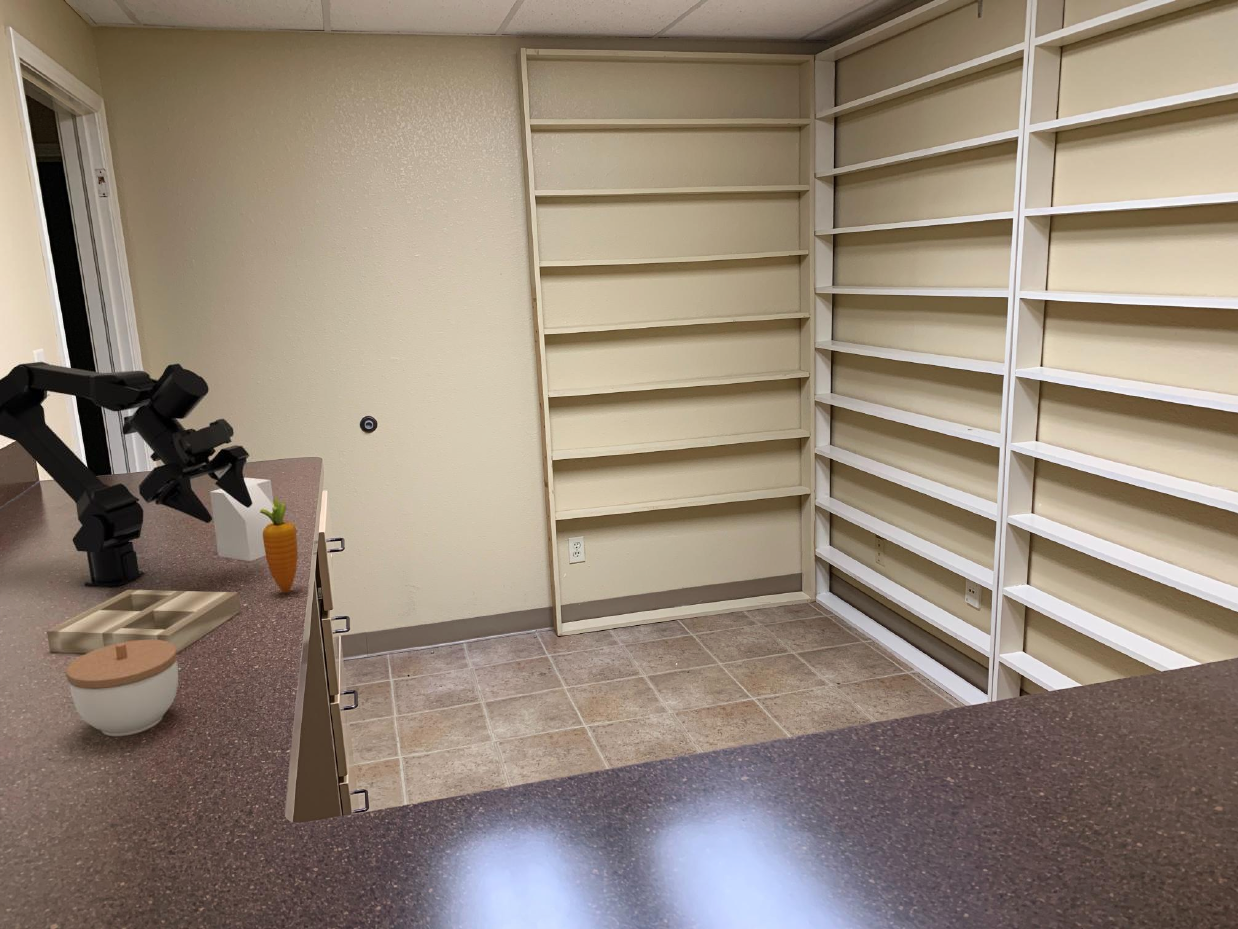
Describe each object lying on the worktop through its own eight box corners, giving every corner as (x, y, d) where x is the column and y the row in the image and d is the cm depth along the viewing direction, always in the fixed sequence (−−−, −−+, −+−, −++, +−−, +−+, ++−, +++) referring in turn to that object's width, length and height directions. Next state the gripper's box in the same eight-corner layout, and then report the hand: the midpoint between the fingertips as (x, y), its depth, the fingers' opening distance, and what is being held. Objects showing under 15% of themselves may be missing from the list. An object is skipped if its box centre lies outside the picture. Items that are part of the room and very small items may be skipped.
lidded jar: (83, 713, 102) (70, 636, 101) (186, 693, 107) (175, 619, 105) (70, 757, 93) (56, 673, 91) (184, 733, 97) (172, 652, 95)
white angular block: (252, 538, 171) (245, 477, 169) (296, 544, 166) (289, 481, 164) (205, 554, 162) (197, 490, 160) (250, 561, 157) (242, 495, 155)
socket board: (50, 652, 120) (46, 631, 119) (130, 608, 136) (128, 589, 135) (172, 656, 117) (168, 635, 117) (240, 611, 133) (237, 592, 132)
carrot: (292, 599, 137) (281, 505, 134) (263, 598, 138) (251, 504, 135) (309, 588, 142) (299, 497, 139) (281, 587, 143) (270, 496, 140)
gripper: (148, 414, 128) (218, 496, 128) (236, 396, 146) (297, 469, 146) (109, 461, 132) (176, 542, 132) (198, 439, 150) (258, 509, 149)
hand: (230, 513), depth 140 cm, fingers open, 9 cm apart
